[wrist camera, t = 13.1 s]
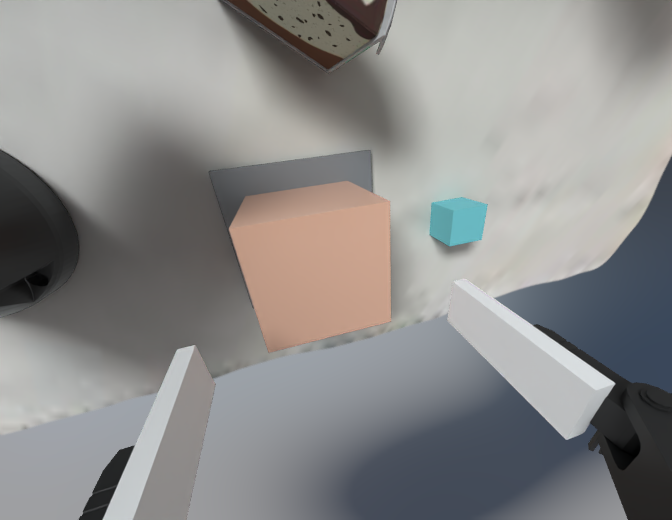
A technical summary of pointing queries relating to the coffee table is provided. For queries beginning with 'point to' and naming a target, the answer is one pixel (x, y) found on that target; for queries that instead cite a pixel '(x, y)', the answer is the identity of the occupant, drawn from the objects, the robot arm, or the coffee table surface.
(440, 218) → the fully visible block
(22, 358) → the coffee table surface
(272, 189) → the mat
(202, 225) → the coffee table surface
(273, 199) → the salmon peach cube
